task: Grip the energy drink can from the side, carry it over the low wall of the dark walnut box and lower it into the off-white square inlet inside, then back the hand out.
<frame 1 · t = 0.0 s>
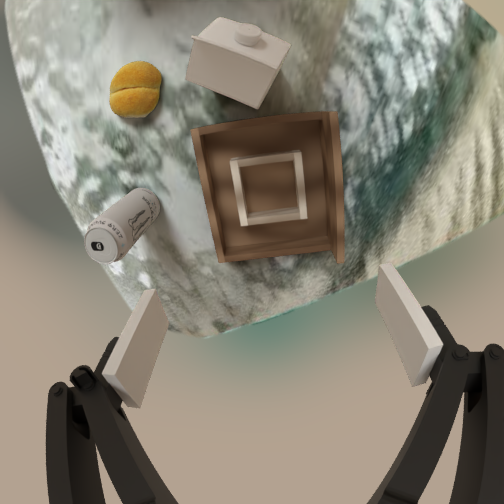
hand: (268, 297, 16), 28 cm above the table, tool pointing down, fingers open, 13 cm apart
walled box: (269, 183, 41), on the table
bread roll: (138, 91, 35), on the table
milk carton: (246, 78, 34), on the table
energy drink can: (145, 203, 43), on the table
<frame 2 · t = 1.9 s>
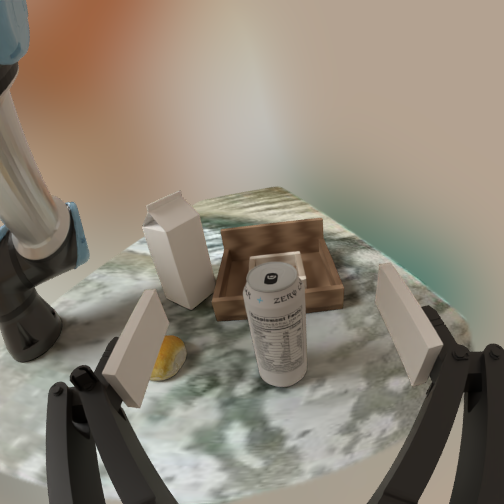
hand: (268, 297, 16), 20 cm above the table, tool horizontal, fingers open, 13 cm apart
walled box: (277, 283, 51), on the table
bread roll: (160, 361, 38), on the table
milk carton: (192, 295, 52), on the table
energy drink can: (283, 372, 34), on the table
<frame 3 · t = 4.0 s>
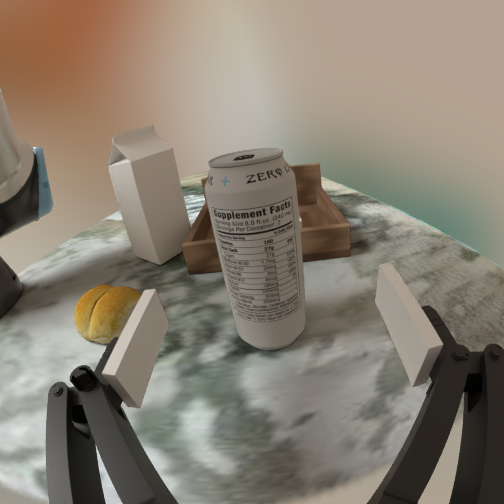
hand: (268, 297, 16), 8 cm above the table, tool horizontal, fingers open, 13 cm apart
walled box: (267, 234, 42), on the table
bread roll: (114, 322, 29), on the table
milk carton: (164, 251, 43), on the table
energy drink can: (272, 331, 25), on the table
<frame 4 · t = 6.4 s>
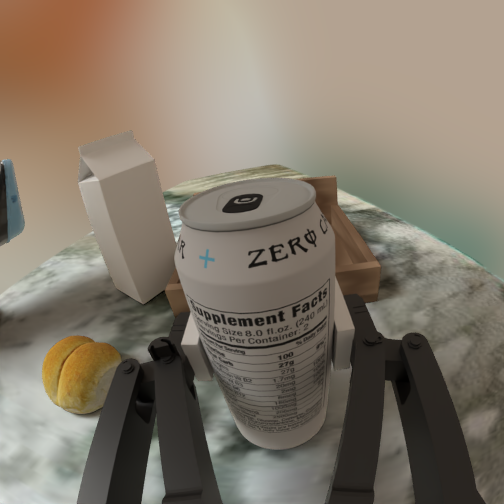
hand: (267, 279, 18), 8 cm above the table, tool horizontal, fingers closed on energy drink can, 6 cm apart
walled box: (273, 265, 34), on the table
bread roll: (88, 382, 21), on the table
milk carton: (150, 284, 35), on the table
energy drink can: (281, 417, 17), on the table, touching gripper
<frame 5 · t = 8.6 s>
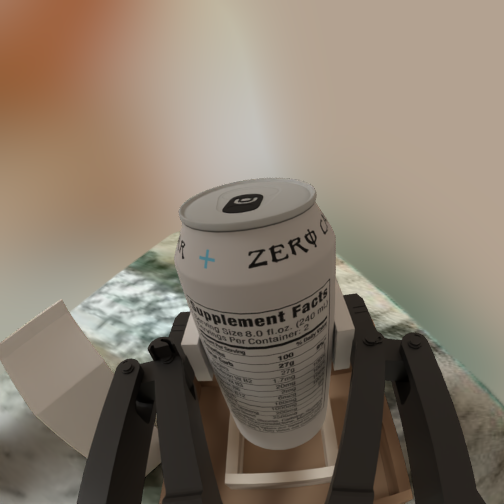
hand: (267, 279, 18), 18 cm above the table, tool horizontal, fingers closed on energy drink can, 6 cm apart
walled box: (283, 448, 22), on the table
milk carton: (135, 450, 23), on the table
energy drink can: (281, 418, 17), point 10 cm above the table, touching gripper
when the fingers open (10 cm above the table, at t = 11.0 s): energy drink can stays where it is, resting on walled box.
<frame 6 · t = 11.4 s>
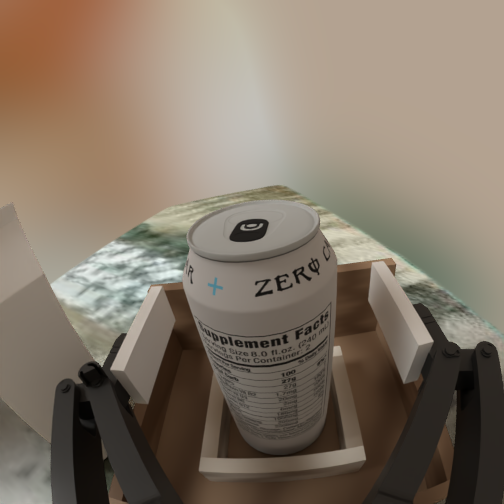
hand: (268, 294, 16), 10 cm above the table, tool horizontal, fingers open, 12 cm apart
walled box: (283, 428, 18), on the table
milk carton: (98, 426, 18), on the table
energy drink can: (282, 424, 17), point 1 cm above the table, touching walled box
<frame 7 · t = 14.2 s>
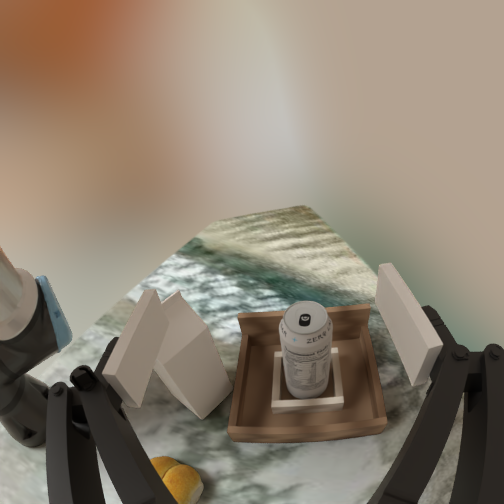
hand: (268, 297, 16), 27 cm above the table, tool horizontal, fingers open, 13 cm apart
walled box: (307, 387, 38), on the table
bread roll: (173, 486, 26), on the table
milk carton: (203, 393, 40), on the table
energy drink can: (307, 385, 37), point 1 cm above the table, touching walled box
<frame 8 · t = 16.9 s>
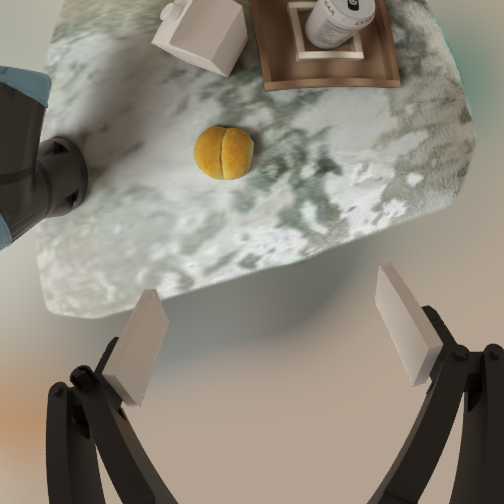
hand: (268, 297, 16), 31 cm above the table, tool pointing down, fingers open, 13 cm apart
walled box: (322, 34, 32), on the table
bread roll: (226, 151, 42), on the table
milk carton: (217, 50, 34), on the table
energy drink can: (323, 33, 31), point 1 cm above the table, touching walled box
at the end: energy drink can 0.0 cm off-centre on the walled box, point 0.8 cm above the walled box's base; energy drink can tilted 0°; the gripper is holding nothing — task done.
